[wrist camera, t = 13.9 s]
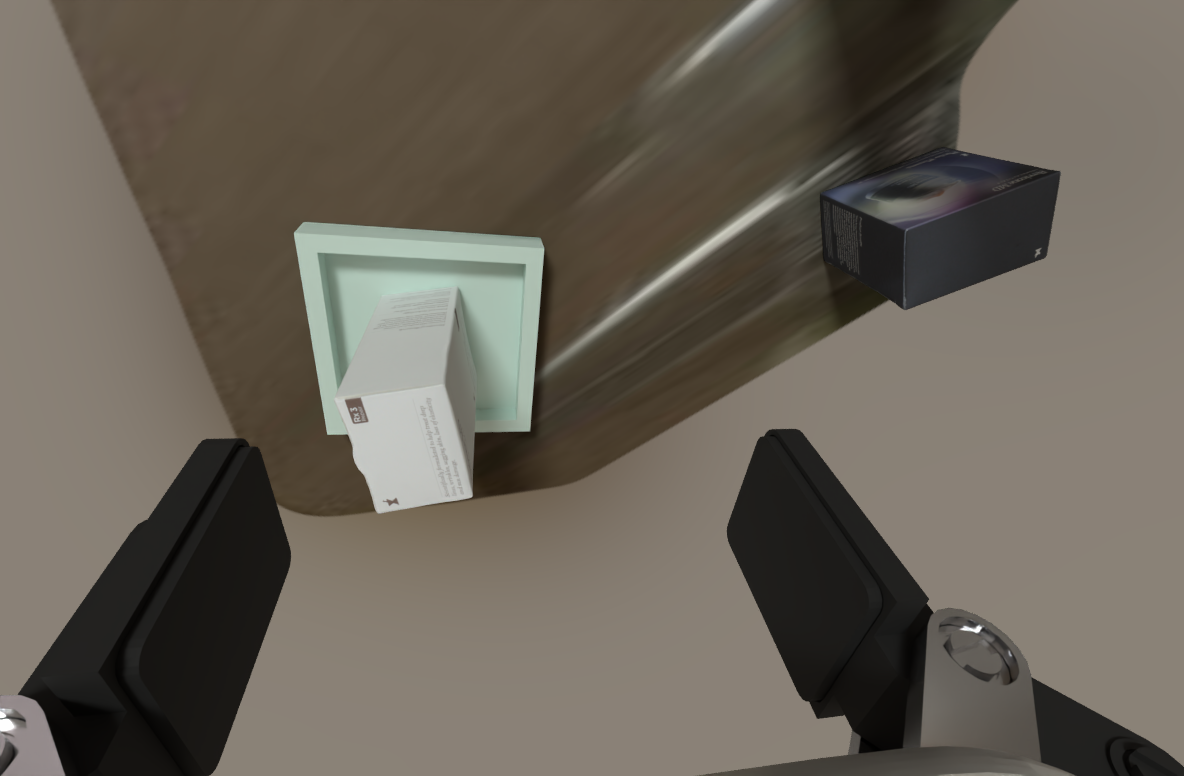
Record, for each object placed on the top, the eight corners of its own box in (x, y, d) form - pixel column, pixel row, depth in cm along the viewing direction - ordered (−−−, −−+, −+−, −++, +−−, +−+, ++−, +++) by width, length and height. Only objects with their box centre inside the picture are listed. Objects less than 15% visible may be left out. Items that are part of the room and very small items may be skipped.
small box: (945, 139, 42) (1069, 165, 33) (939, 218, 45) (1050, 260, 37) (817, 189, 42) (908, 227, 33) (822, 263, 46) (905, 315, 37)
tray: (540, 237, 40) (544, 248, 38) (527, 414, 48) (529, 431, 46) (303, 221, 36) (293, 232, 34) (333, 416, 44) (327, 434, 42)
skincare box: (478, 374, 44) (481, 503, 32) (402, 386, 43) (377, 523, 31) (457, 278, 39) (451, 385, 27) (372, 289, 39) (327, 404, 26)
